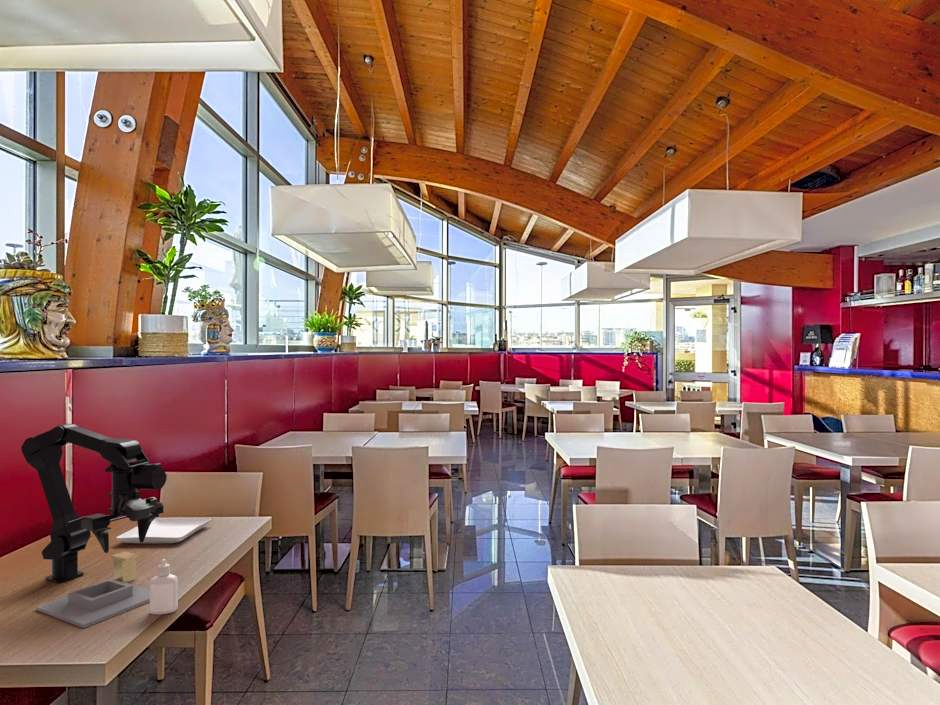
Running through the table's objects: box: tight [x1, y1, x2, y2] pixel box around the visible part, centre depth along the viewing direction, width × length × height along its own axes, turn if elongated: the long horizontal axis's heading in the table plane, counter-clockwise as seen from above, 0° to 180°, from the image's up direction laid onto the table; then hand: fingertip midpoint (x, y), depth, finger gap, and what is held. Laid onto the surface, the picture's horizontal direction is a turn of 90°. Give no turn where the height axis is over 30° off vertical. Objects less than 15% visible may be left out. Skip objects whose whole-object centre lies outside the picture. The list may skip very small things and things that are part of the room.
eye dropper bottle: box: [149, 558, 179, 615], centre depth 128 cm, size 4×6×12 cm
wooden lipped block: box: [110, 550, 139, 583], centre depth 147 cm, size 6×4×7 cm, turn 63°
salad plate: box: [116, 517, 212, 544], centre depth 184 cm, size 21×21×3 cm
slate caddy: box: [35, 578, 150, 629], centre depth 133 cm, size 20×18×3 cm
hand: (124, 547), depth 147 cm, fingers open, 9 cm apart
